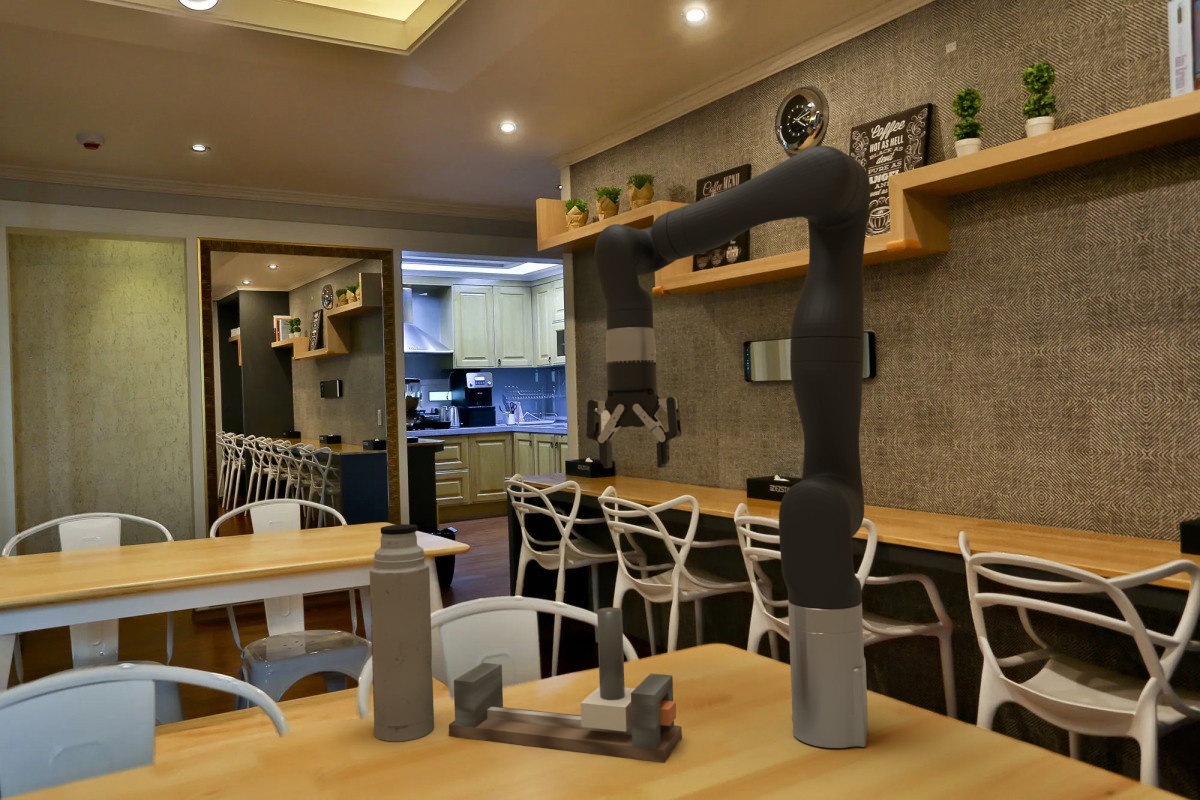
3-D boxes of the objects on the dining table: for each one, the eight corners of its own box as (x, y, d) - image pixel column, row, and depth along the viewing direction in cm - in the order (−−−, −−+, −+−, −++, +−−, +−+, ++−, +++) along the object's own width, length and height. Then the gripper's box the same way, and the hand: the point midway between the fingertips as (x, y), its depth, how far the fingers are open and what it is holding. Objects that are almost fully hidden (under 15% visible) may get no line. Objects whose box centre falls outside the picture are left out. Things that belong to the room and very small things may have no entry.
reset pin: (676, 717, 108) (675, 701, 108) (669, 725, 105) (668, 709, 105) (638, 713, 109) (638, 698, 109) (631, 721, 107) (630, 705, 107)
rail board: (681, 737, 110) (679, 675, 110) (664, 762, 102) (662, 696, 102) (478, 715, 121) (476, 658, 121) (448, 735, 113) (447, 675, 113)
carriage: (643, 712, 111) (640, 605, 111) (626, 731, 105) (622, 618, 105) (601, 707, 113) (597, 603, 114) (581, 726, 107) (577, 615, 107)
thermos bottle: (363, 740, 113) (357, 529, 113) (390, 718, 120) (384, 521, 121) (419, 743, 111) (413, 529, 111) (443, 721, 119) (437, 521, 119)
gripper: (577, 361, 126) (581, 469, 126) (669, 356, 121) (673, 469, 121) (596, 363, 133) (599, 466, 133) (683, 358, 128) (687, 465, 128)
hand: (634, 467), depth 127 cm, fingers open, 8 cm apart
